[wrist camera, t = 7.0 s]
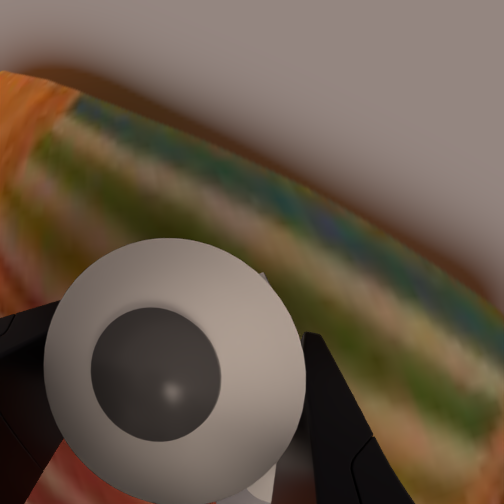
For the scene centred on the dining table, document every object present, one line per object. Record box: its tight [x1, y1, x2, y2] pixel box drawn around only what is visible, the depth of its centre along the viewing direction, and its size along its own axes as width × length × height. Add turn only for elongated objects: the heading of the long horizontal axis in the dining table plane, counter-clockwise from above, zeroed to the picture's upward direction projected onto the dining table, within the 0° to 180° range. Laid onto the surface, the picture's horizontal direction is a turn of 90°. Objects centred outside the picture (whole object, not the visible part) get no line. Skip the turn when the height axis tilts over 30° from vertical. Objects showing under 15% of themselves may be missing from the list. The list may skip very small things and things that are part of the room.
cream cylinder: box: [44, 238, 306, 504], centre depth 8 cm, size 4×4×9 cm
